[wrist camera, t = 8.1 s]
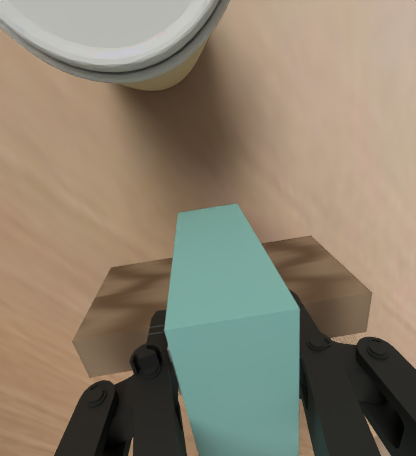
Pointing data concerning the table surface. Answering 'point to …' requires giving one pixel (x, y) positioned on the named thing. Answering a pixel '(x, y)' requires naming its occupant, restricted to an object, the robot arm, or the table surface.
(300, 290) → the walnut rail
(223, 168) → the table surface
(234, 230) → the teal rectangular block
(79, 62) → the coffee cup
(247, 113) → the table surface
